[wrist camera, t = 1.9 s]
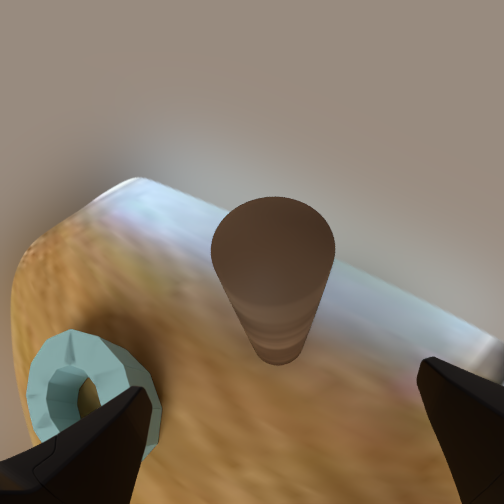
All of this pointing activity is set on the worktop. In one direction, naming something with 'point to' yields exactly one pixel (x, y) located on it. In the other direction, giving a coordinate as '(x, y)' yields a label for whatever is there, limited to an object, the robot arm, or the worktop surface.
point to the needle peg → (274, 271)
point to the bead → (74, 375)
